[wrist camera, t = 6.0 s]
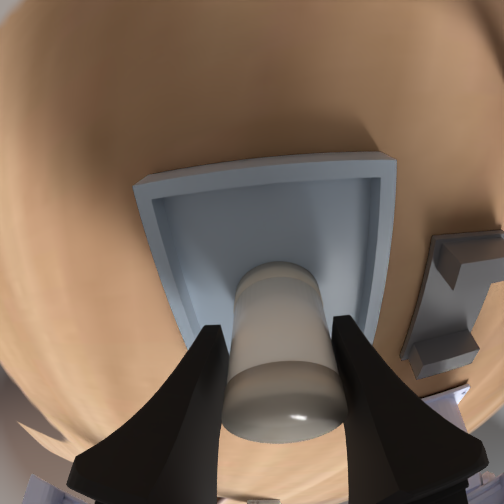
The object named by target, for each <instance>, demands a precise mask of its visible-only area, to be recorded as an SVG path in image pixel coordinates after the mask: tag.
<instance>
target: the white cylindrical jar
mask: <svg viewBox="0 0 504 504" xmlns="http://www.w3.org/2000/svg"><path fill="white" fill-rule="evenodd" d="M233 312H234V320H233V329H232V338H231V348H230V357H229V366H228V376H227V385H226V387H225V390H224V399H223V408H222V418H221V419H222V424H223V426H224V427H225V428H226V429H227V430H228V431H229V432H230V433H232V434H234V435H236V436H238V437H240V438H243V439H246V440H250V441H254V442H260V443H271V444H283V443H294V442H301V441H305V440H310V439H313V438H316V437H319V436H322V435H324V434H327V433H329V432H330V431H332V430H334V429H335V428H337V427H338V426H340V425H341V424H342V423H343V422H344V420H345V419H346V417H347V415H348V407H347V402H346V397H345V392H344V388H343V383H342V380H341V378H340V376H339V372H338V368H337V363H336V359H335V355H334V350H333V346H332V342H331V338H330V334H329V329H328V325H327V321H326V317H325V313H324V310H323V301H322V297H321V293H320V290H319V286H318V283H317V281H316V279H315V277H314V276H313V275H312V274H311V273H310V272H309V271H308V270H307V269H305V268H304V267H302V266H300V265H297V264H294V263H291V262H284V261H275V262H268V263H264V264H261V265H259V266H256V267H254V268H253V269H251V270H250V271H248V272H247V273H246V274H245V275H244V276H243V277H242V278H241V279H240V281H239V283H238V285H237V288H236V292H235V300H234V311H233Z"/></svg>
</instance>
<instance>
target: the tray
mask: <svg viewBox="0 0 504 504" xmlns="http://www.w3.org/2000/svg"><path fill="white" fill-rule="evenodd" d="M396 173H397V160H396V159H394V158H392V157H390V156H389V155H387V154H385V153H383V152H379V151H375V152H331V153H311V154H296V155H283V156H272V157H262V158H253V159H244V160H236V161H228V162H220V163H213V164H207V165H200V166H194V167H188V168H182V169H176V170H170V171H165V172H160V173H155V174H150V175H147V176H146V177H144V178H143V179H141V180H140V181H139V182H137V183H136V184H134V185H133V186H132V187H133V191H134V195H135V199H136V202H137V206H138V210H139V213H140V217H141V220H142V223H143V227H144V230H145V234H146V237H147V240H148V243H149V246H150V250H151V253H152V256H153V259H154V262H155V265H156V268H157V271H158V274H159V277H160V279H161V282H162V285H163V288H164V291H165V293H166V296H167V299H168V302H169V304H170V307H171V310H172V312H173V315H174V317H175V320H176V322H177V325H178V327H179V330H180V332H181V335H182V337H183V340H184V342H185V344H186V347H187V349H188V350H189V348H190V346H191V345H192V343H193V342H194V340H195V339H196V337H197V335H198V334H199V332H200V331H201V329H202V327H203V326H204V325H220V324H221V328H222V331H223V335H224V338H225V342H226V345H227V349H228V352H229V356H230V348H231V338H232V329H233V320H234V312H233V311H234V300H235V292H236V288H237V285H238V283H239V281H240V279H241V278H242V277H243V276H244V275H245V274H246V273H247V272H248V271H250V270H251V269H253V268H254V267H256V266H259V265H261V264H264V263H268V262H275V261H284V262H291V263H294V264H297V265H300V266H302V267H304V268H305V269H307V270H308V271H309V272H310V273H311V274H312V275H313V276H314V277H315V279H316V281H317V283H318V286H319V290H320V293H321V297H322V301H323V310H324V313H325V317H326V321H327V325H328V329H329V334H330V338H331V337H332V325H333V316H342V315H351V316H352V318H353V319H354V321H355V322H356V324H357V325H358V327H359V328H360V330H361V331H362V332H363V334H364V335H365V337H366V338H367V339H368V341H369V342H370V343H371V345H372V344H373V340H374V336H375V332H376V328H377V323H378V319H379V314H380V309H381V304H382V299H383V294H384V288H385V282H386V276H387V270H388V263H389V256H390V249H391V240H392V231H393V221H394V209H395V195H396Z"/></svg>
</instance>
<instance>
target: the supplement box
mask: <svg viewBox="0 0 504 504" xmlns="http://www.w3.org/2000/svg"><path fill="white" fill-rule="evenodd" d="M247 504H281V502H280V500H247Z"/></svg>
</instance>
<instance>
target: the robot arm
mask: <svg viewBox="0 0 504 504" xmlns="http://www.w3.org/2000/svg"><path fill="white" fill-rule="evenodd" d="M331 342H332V346H333V350H334V355H335V359H336V363H337V368H338V372H339V376H340V378H341V380H342V383H343V388H344V392H345V397H346V402H347V407H348V415H347V417H346V419H345V420H344V422H343V423H344V428H345V435H346V446H347V460H348V484H349V504H504V473H502V474H500V475H499V476H497V477H495V474H494V473H489V472H488V471H487V472H485V473H484V474H481V472H480V471H481V470H483V469H484V468H486V467H487V466H488V464H489V461H488V458H487V454H486V451H485V448H484V446H483V444H482V441H481V440H479V439H477V438H475V437H473V436H472V435H470V434H468V433H467V430H466V427H465V424H464V421H463V418H462V416H461V413H460V410H459V408H458V405H457V404H458V403H459V402H460V400H461V399H462V398H463V397H464V395H465V394H466V393H467V391H468V390H469V388H470V385H469V384H465V385H462V386H459V387H457V388H454V389H451V390H448V391H445V392H442V393H439V394H435V395H432V396H429V397H425V398H422V399H420V398H419V397H418V396H417V395H416V394H415V393H414V392H413V391H412V390H411V389H410V388H409V387H407V386H406V385H405V383H404V382H403V381H402V380H401V379H400V378H399V377H398V376H397V375H396V374H395V373H394V372H393V370H392V369H391V368H390V367H389V366H388V365H387V364H386V362H385V361H384V360H383V359H382V357H381V356H380V355H379V354H378V352H377V351H376V350H375V349H374V347H373V346H372V345H371V343H370V342H369V341H368V339H367V338H366V337H365V335H364V334H363V332H362V331H361V330H360V328H359V327H358V325H357V324H356V322H355V321H354V319H353V318H352V316H351V315H342V316H333V325H332V337H331ZM229 357H230V356H229V352H228V349H227V345H226V342H225V338H224V335H223V331H222V328H221V324H220V325H204V326H203V327H202V329H201V331H200V332H199V334H198V335H197V337H196V339H195V340H194V342H193V343H192V345H191V346H190V348H189V350H188V351H187V353H186V354H185V355H184V357H183V358H182V360H181V361H180V363H179V364H178V365H177V367H176V368H175V370H174V371H173V372H172V374H171V375H170V376H169V377H168V379H167V380H166V381H165V382H164V384H163V385H162V386H161V387H160V389H159V390H158V391H157V392H156V393H155V394H154V396H153V397H152V398H151V399H150V400H149V401H148V402H147V403H146V404H145V405H144V406H143V407H142V408H141V409H140V410H139V411H138V412H137V413H136V414H135V415H134V416H133V417H132V418H131V419H129V420H128V421H127V422H126V423H125V424H124V425H122V426H121V427H120V428H119V429H117V430H116V431H115V432H113V433H112V434H111V435H109V436H108V437H107V438H105V439H104V440H102V441H101V442H99V443H98V444H96V445H95V446H93V447H91V448H90V449H88V450H86V451H85V452H83V453H81V454H79V455H78V456H76V457H75V460H74V462H73V465H72V468H71V471H70V474H69V477H68V481H67V484H66V485H67V486H68V487H69V488H70V489H72V490H74V491H76V492H78V493H81V494H83V495H85V496H87V497H90V498H91V499H94V500H96V501H95V504H217V465H218V448H219V436H220V429H221V424H222V419H221V418H222V408H223V399H224V390H225V387H226V385H227V376H228V366H229ZM482 477H483V478H482ZM22 504H89V503H87V502H86V501H84V500H82V499H80V498H78V497H76V496H73V495H71V494H69V493H67V492H65V491H63V490H61V489H59V488H57V487H55V486H53V485H52V484H50V483H48V482H46V481H44V480H43V479H41V478H39V477H38V476H36V475H34V474H32V475H31V477H30V480H29V483H28V486H27V489H26V492H25V495H24V498H23V502H22Z"/></svg>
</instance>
